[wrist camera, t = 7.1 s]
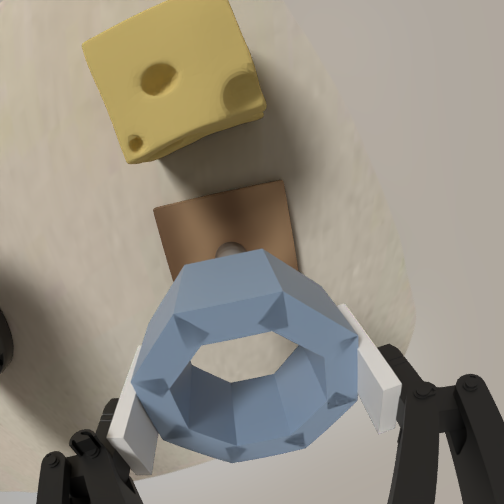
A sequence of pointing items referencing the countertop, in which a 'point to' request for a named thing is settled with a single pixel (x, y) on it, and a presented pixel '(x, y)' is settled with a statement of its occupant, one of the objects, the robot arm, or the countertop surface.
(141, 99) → the cheese
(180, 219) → the post
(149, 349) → the ring
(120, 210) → the countertop surface
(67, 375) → the countertop surface
